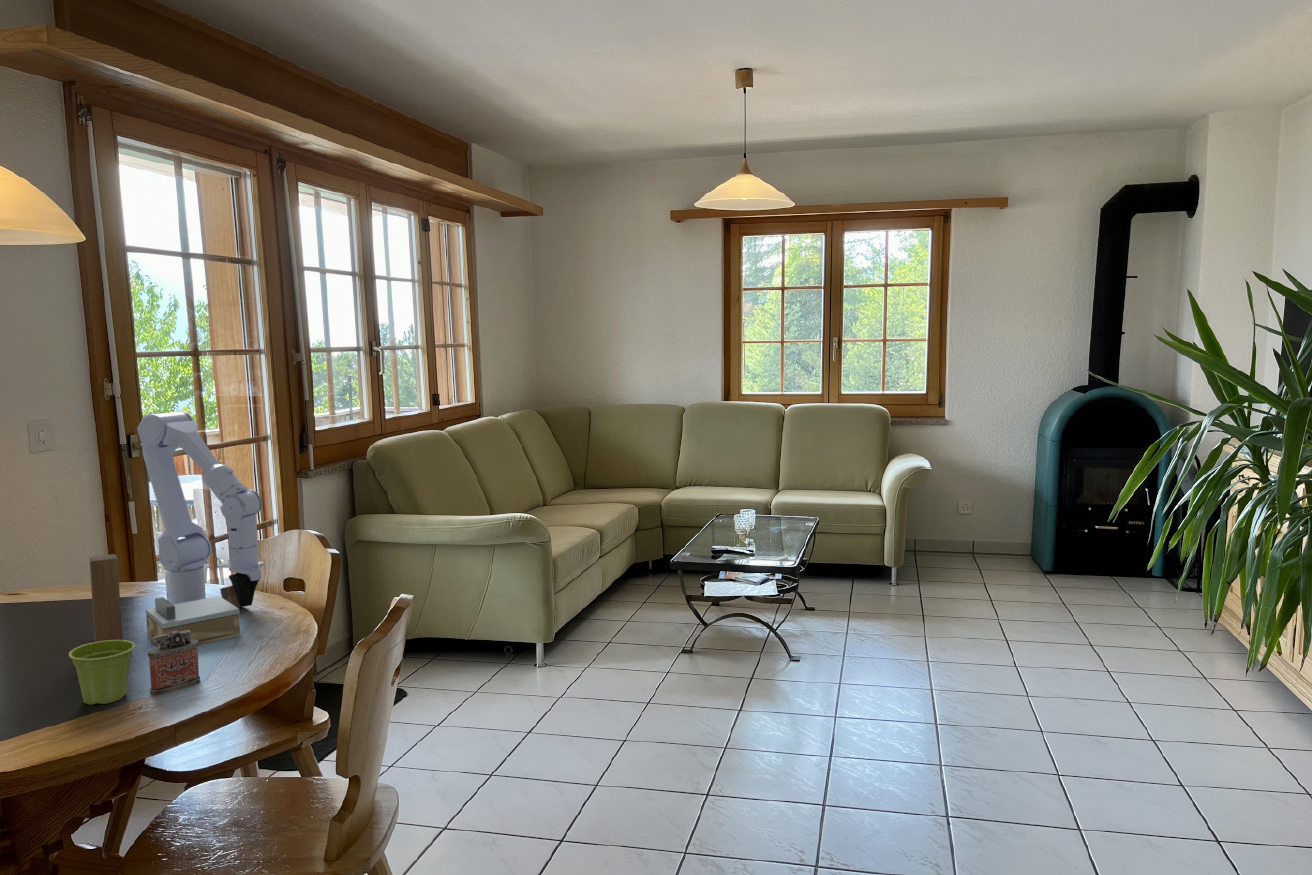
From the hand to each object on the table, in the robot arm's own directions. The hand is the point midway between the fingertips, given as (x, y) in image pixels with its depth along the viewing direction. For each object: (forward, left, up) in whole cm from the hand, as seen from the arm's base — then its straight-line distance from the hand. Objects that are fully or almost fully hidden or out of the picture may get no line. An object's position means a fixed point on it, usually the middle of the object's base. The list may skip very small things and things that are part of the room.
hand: (245, 605), depth 194 cm
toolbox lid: (+9, -14, +3) cm, 17 cm away
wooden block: (+3, -27, -2) cm, 27 cm away
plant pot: (+32, -34, -2) cm, 47 cm away
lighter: (+35, -24, -2) cm, 43 cm away
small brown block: (-3, -1, -1) cm, 3 cm away
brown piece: (+9, -14, -1) cm, 17 cm away
